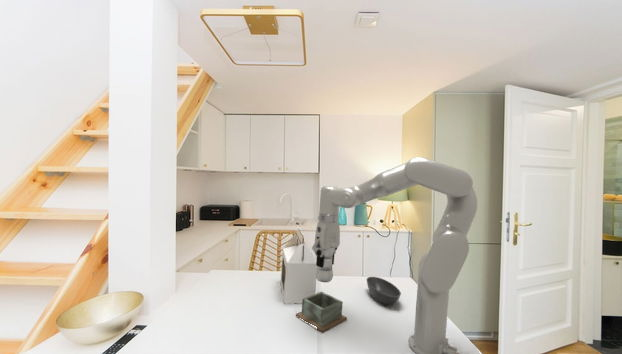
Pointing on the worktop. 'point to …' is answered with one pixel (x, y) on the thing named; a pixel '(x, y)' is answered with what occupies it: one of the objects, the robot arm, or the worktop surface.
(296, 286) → the gable box
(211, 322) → the worktop surface
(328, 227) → the robot arm
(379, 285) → the bowl
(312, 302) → the bottle holder
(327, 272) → the silver bottle
